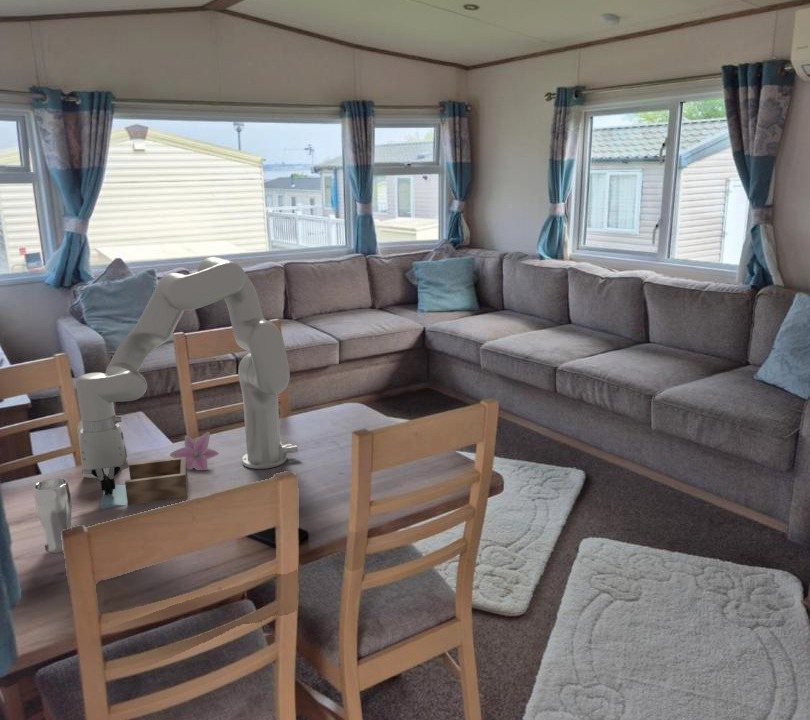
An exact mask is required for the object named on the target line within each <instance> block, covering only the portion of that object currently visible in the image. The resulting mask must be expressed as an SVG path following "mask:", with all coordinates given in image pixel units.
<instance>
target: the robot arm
mask: <svg viewBox="0 0 810 720" xmlns="http://www.w3.org/2000/svg"><path fill="white" fill-rule="evenodd" d="M222 300H224V302H225V304H226V307H227V310H228V315H229V319H230V323H231V328H232V333H233V338H234V341H235V343H236V345H237V346H238V347H239V348H241V349H243V350H245V351H247V352H248V353H246V355H244V356H243V358H242V359H240V361H239V364H238V369H237V370H238V371H237V372H238V375H237V376H238V381H239V385H240V389H241V393H242V394H241V395H242V402H243V404H242V405H243V417H244V431H245V441H246V443H245V444H246V453H245V454H244V455H242V457H241V463H242V465H243V466H245V467H247V468H250V469H254V470H255V469H256V470H257V469H258V470H263V469H264V470H265V469H272V468H274V467H275V468H276V467H279V466H281V465H283V464H285V462H286V461H287V458H288V455H287V454H289V453H291V454H293V453H299V451H298V446H297V445H292V443H288V444H285V443H282V441H281V430H280V417H279V416H280V413H279V400H278V399H279V397H278V394H279V395H280V394H281V393H283V392H284V391H285V390H286V388H287V387H288V384H289V382H290V376H291V375H290V374H291V373H290V366H289V361H288V356H287V351H286V346H285V341H284V338H283V334H282V333H281V331H280V329H279V327H278V326H277V325H276V324H274V322H272V321H269V320H267V319H265V317H264V314H263V310H262V306H261V303H260V302H261V301H260V299H259V296H258V292H257V289H256V288H255V285H254V284H253V282H252V280H251V279H250V278H249V277H248V275H247V274H246V273H245V270H244V269H243V267H242V266H241V265H240V264H239V263H237V262H235V261H232V260H229V259H225V258H221V257H215V256H211V257H207V258H204V259H203V260H202V261H201V262H200V263H199V264H198V266H197V272H194V273H190V274H186V275H185V274H183V273H178V272H171V273H167V274H165V275H164V276H163V277H162V278H161V279H160V280H159V282H158V283H157V286H156V287H155V289H154V291H153V292H152V295H151V296H150V299H149V300H148V303H147V305H146V306H145V308H144V310H143V312H142V313H141V315H140V317H139V319H138V321H137V323H136V324H135V325H134V327H133V328H132V329H131V330H130V331H129V332H128V334H127V335H126V336H125V337H124V338H123V339H122V341H121V342H120V344H119V345H118V347H117V348H116V350H115V352H114V354H113V355H112V358H111V360H110V362H109V363H108V366H107V367H106V370H105V373H104V372H89V373H85V374H82V375H80V376H78V377H77V379H76V381H75V386H76V392H77V401H78V407H79V414H80V421H81V420H82V427H83V429H81V431H80V446H79V451H80V454H79V455H80V460H81V461H80V463H81V467H82V470H81V473H82V474H83V475H84V474H92V475H94V476H95V477H97V478H96V479H98V480H99V481H100V486H101V491H102V492H104V491H105V495H108V493H109V494H112V492H113V489H115V485H116V482H115V481H116V480H115V476H116V475H118V473H119V472H121V471H123V470H125V469H129V464H130V462H128V459H127V458H128V453H127V452H128V451H127V447H126V441H125V437H124V434H123V429H122V428H121V425H120V424H119V423H122V422H123V417H122V416H117V415H116V413H115V405H114V403H115V402H116V403H117V402H131V401H135V400H139V399H140V398H142V397H143V396H144V395H145V393H146V391H147V389H148V384H147V379H146V378H145V376H144V375H142V373H140V372H139V370H140V369H141V367H142V366H143V363H144V362H145V361H146V358H147V356H148V355H149V354H150V353H151V352H152V351H153V350H154V349H156V348H158V347H159V346H161V345H163V344H166V343H167V342H168V341H169V340H170V339H171V338H172V336H173V334H174V331H175V330H176V328H177V325H178V323H179V322H180V320H181V318H182V316H183V315H184V312H189V311H194V310H197V309H200V308H203V307H206V306H208V305H211V304H213V303H216V302H219V301H222ZM104 468H109V474H108V476H107V475H106V474H105V472H104Z"/></svg>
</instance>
